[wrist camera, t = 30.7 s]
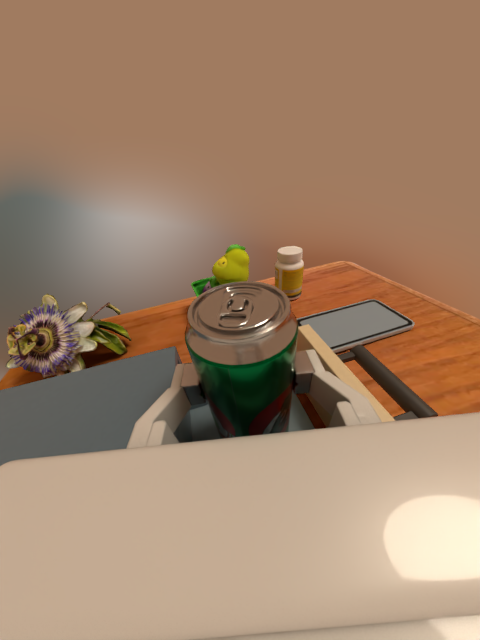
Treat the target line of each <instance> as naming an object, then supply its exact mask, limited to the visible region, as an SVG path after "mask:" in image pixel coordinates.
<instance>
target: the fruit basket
mask: <svg viewBox="0 0 480 640" xmlns="http://www.w3.org/2000/svg"><path fill="white" fill-rule="evenodd" d="M244 250H245V247H243V246H239V245H237V244H235V245H231V246H230V247H229V248H228V249H227V251H226V254H225V255H224V256H222V258H220V259H219V260H218V261H217V262H216V263H215V264H214V266H213V270H212V272H213V274H214V276H213V277H210V278H206V279H202V280H198V281H196V282H193V283H192V284H191V286H192V288H193V290H194V292H195V294H196V296H197V297H198V296H199V295H201V294H202V293H204V292H205V291H207V290H209V289H211V288H214V287H216V286H219V285H223V284H227V283H232V282H241V281H247V280H248V276H249V270H248V265H249V256H248V255H247V253H246V252H245V251H244Z"/></svg>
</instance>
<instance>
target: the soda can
mask: <svg viewBox="0 0 480 640" xmlns="http://www.w3.org/2000/svg"><path fill="white" fill-rule="evenodd" d="M188 322H189V323H188V325H187V328H186V332H185V341H186V345H187V348H188V351H189V353H190V356H191V359H192V362H193V364H194V367H195V370H196V373H197V375H198V378H199V381H200V384H201V386H202V389H203V392H204V395H205V397H206V400H207V403H208V405H209V408H210V411H211V414H212V416H213V419H214V422H215V425H216V427H217V430H218V433H219V436H220V438H221V439H224V438H234V437H243V436H253V435H263V434H273V433H282V432H288V430H289V420H290V410H291V400H292V390H293V379H294V369H295V359H296V349H297V339H298V322H297V319H296V317H295V315H294V314H293V312H292V311H291V305H290V301H289V299H288V297H287V295H286V294H285V293H284V292H283V291H281V290H280V289H278V288H277V287H274V286H272V285H269V284H266V283H261V282H253V281H241V282H232V283H227V284H223V285H219V286H216V287H214V288H211V289H209V290H207V291H205V292H204V293H202V294H201V295H199V296H198V297H197V298H196V299H195V300H194V301H193V302H192V303H191V305H190V307H189V309H188Z"/></svg>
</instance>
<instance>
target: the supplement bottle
mask: <svg viewBox="0 0 480 640" xmlns="http://www.w3.org/2000/svg"><path fill="white" fill-rule="evenodd" d="M277 258H278V260H277V262H276V264H275V287H277V288H278V289H280V290H281V291H283V292H284V293H285V294H286V295H287V297H288V299H289V301H290V300H295V299H297V298H299V297H300V295H301V290H302V279H303V267H304V263H303V261H302V260H301V259H302V248H300V247H296V246H288V247H282V248H280V249H279V250H278V255H277Z"/></svg>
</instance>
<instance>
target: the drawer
mask: <svg viewBox="0 0 480 640" xmlns="http://www.w3.org/2000/svg"><path fill="white" fill-rule="evenodd" d="M312 349H314V350H315V351H316V353H317V355H318V357H319V359H320V361H321V363H322V365H323V367H324V369H325V371H329V372H330V373H332V374H333V375H334V376H336V377H337V378H339V379H340V380H342V381H343V382H345V383H346V384H347V385H349V386H350V387H352V388H353V389H355V390H356V391H358V392H359V393H360V394H362V395H363V396H365V397H366V398H368V400H369V402H370V403H371V405H372V406H373V408H374V410H375V411H376V413H377V415H378V416H379V418H380V419H381V421H382V422H389V421H399V420H409V419H418V418H428V417H437V416H438V414H437V413H436V412H435V411H434V410H433V409H432V408H431V407H430V406H429V405H427V404H426V403H425V402H424V401H423V400H422V399H421V398H420V397H419V396H418V395H416V394H415V393H414V392H413V391H412V390H411V389H410V388H409V387H408V386H407V385H405V384H404V383H403V382H402V381H401V380H400V379H399V378H398V377H397V376H395V375H394V374H393V373H392V372H391V371H390V370H389V369H388V368H387V367H386V366H384V365H383V364H382V363H381V362H380V361H379V360H378V359H377V358H376V357H374V356H373V355H372V354H371V353H370V352H369V351H368V350H367V349H366V348H365V347H363V346H362V345H356V346H354V347H353V348H352V349H351V350H350V352H348V353H344V354H341V355H336V354H335V353H334V352H333V351H332V350H331V349H330V347H329V346H328V345H327V344H326V343H325V342H324V341H323V340H322V339H321V338H320V336H319V335H318V334H317V333H316V332H315V331H314V330H313V329H312V328H311V326H310V325H309V324H307V325H303V326H300V327H298V339H297V349H296V351H303V350H312ZM352 360H355V361H356V362H357V363H358V364H359V365H360V366H361V367H362V368H363V369H364V370H365V371H366V372H367V373H368V374H369V375H370V376H371V377H372V378H373V379H374V380H375V381H376V382H377V383H378V384H379V385H380V386H381V387H382V388H383V389H384V390H385V391H386V392H387V393H388V394H389V395H390V396H391V397H392V398H393V399H394V400H395V401H396V403H397V404H398V405H399V406H400V407H401V408H402V409H403V410H404V411H405V412H406V413H404V414H401V415H398V416H396V417H392V416H391V415H390V414H389V413H388V412H387V411H386V410H385V408H384V407H383V406H382V405H381V404H380V403H379V402H378V401H377V400H376V398H375V397H374V396H373V395H372V394H371V393H370V392H369V391H368V390H367V388H366V387H365V386H364V385H363V384H362V383H361V382H360V381H359V380H358V379H357V377H356V376H355V375H354V374H353V373H352V372H351V371H350V370H349V369H348V367H347V366H346V365H345V364H344V363H345V362H349V361H352ZM306 395H307V397H308V398H309V400H310V402H311V403H312V405H313V407H314V408H315V410H316V411H317V413H318V415H319V416H320V418H321V420H322V421H323V423H324V425H325V426H326V428H328V427H329V424H330V421H331V419H332V416H331V415H330V414H329V413H328V412H327V411H326V410H325V409H324V408H323V407H322V406H321V405H320V404H319V403H318V402H317V401H316V400H315V399H314V398H313V397H312V396H311V395H310V394H309V393H306ZM311 429H315V428H314V426H313V424H312V422H311V421H310V419H309V417H308V415H307V413H306V412H305V410H304V408H303V406H302V404H301V403H300V401H299V399H298V397H297V396H296V394H294V392H293V390H292V400H291V410H290V420H289V430H288V432H292V431H302V430H311ZM179 435H180V443H186V442H195V441H205V440H214V439H221V438H220V436H219V433H218V430H217V427H216V425H215V422H214V419H213V416H212V414H211V411H210V408H209V405H208V403H207V400H206V403H205V404H197V405H191V408H190V409H189V411H188V412H187V414H186V415H185V417H184V418H183V420H182V421H181V423H180V424H179Z"/></svg>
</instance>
